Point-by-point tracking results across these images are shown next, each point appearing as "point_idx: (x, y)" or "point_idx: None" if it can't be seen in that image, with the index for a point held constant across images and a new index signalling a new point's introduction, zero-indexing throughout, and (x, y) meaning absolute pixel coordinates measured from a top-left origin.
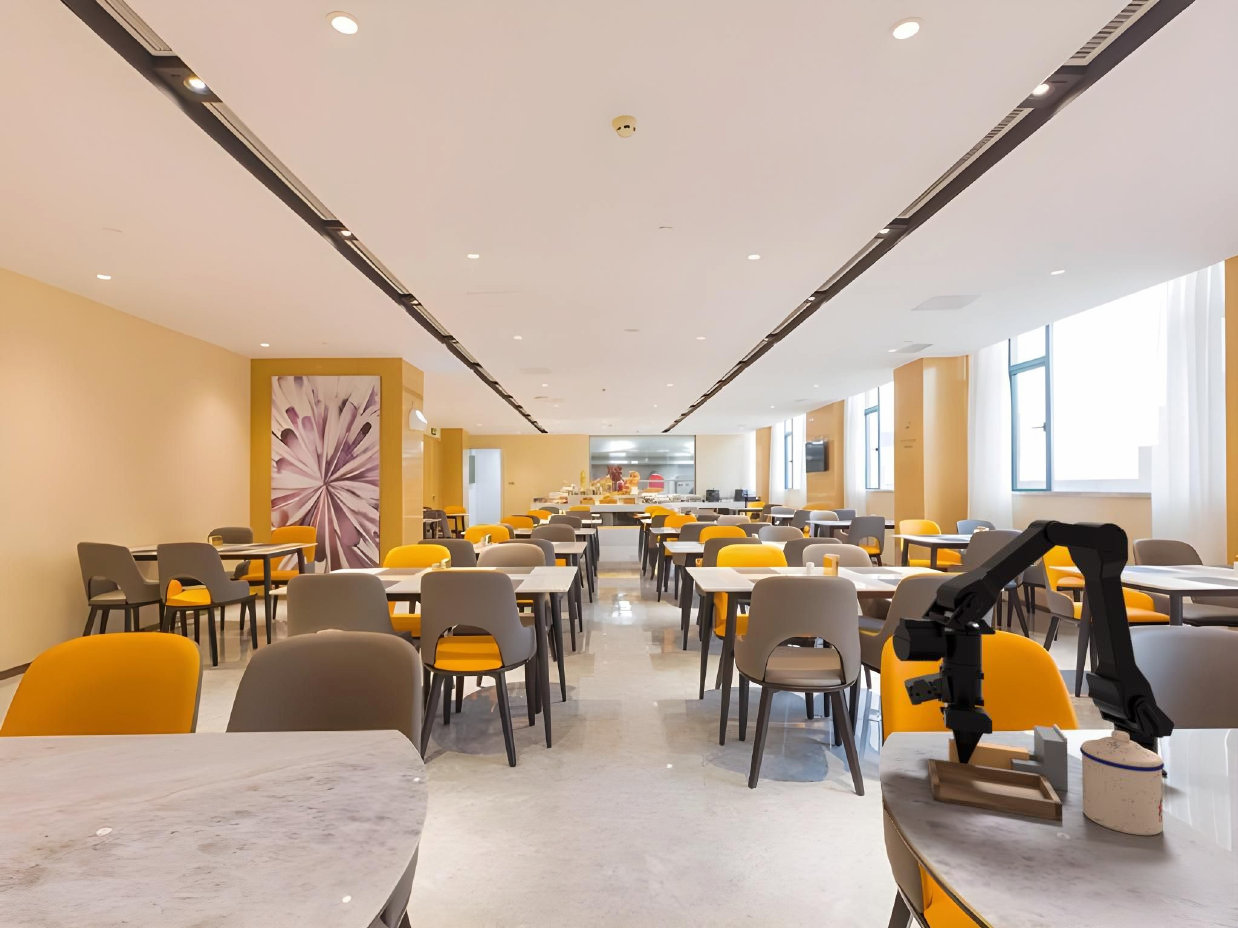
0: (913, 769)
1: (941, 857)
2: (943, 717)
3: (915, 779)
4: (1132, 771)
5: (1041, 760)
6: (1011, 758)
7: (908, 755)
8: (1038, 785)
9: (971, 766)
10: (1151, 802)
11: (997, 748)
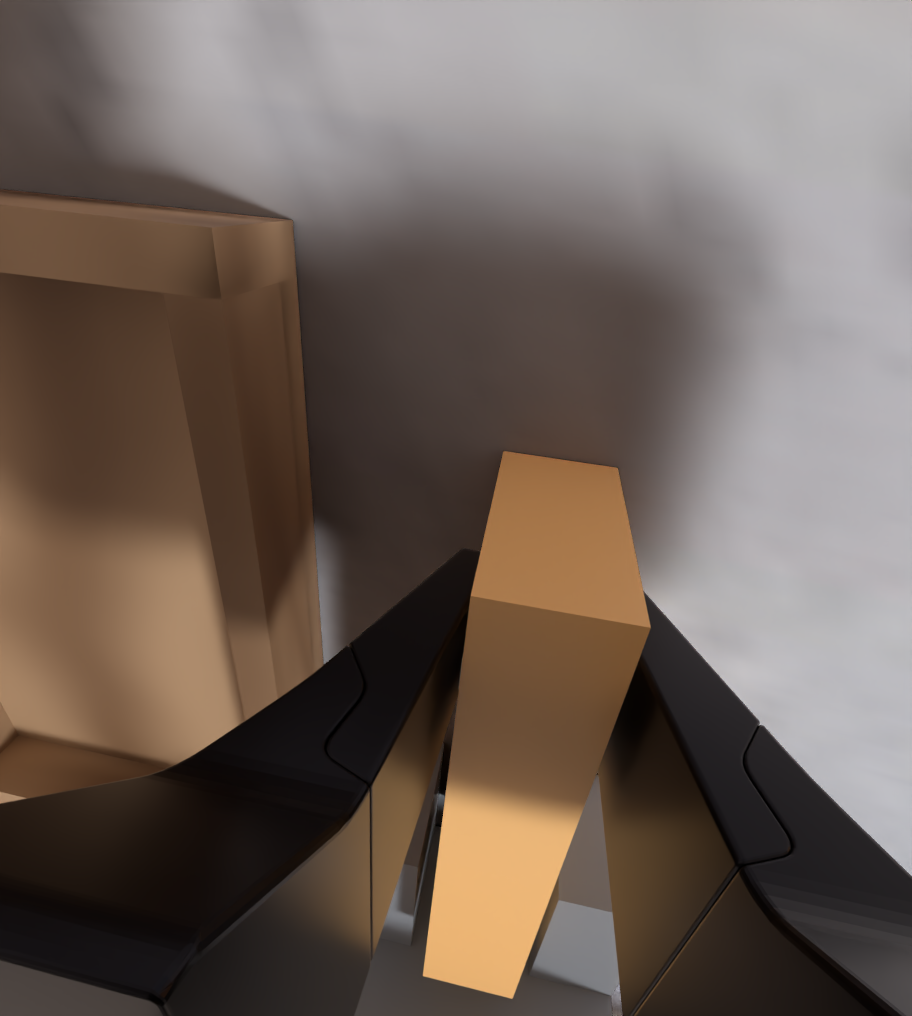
0: (322, 38)
1: None
2: (132, 997)
3: (36, 28)
4: None
5: (401, 958)
6: (409, 863)
7: (850, 17)
8: None
9: (222, 597)
10: None
11: (440, 883)
